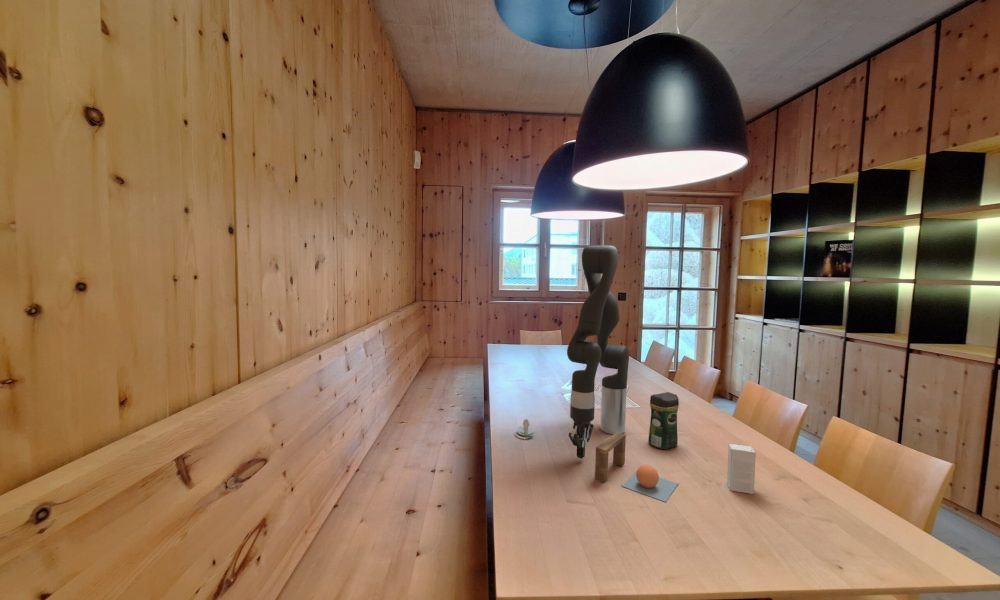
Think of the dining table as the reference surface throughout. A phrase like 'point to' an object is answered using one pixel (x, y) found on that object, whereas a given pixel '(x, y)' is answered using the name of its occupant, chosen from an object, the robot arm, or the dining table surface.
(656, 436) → the coffee jar
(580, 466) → the dining table surface
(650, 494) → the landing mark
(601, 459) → the bridge
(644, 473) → the ball
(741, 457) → the skincare box
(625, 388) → the robot arm
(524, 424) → the pacifier
